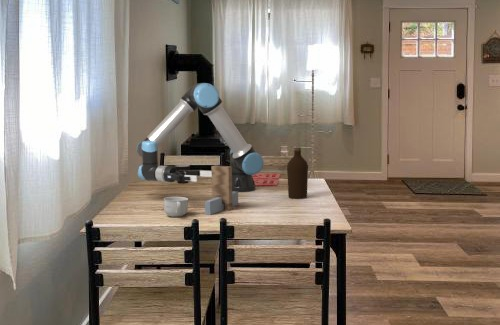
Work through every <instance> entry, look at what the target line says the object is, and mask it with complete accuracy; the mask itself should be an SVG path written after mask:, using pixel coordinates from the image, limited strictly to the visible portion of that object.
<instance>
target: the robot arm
mask: <svg viewBox="0 0 500 325" xmlns="http://www.w3.org/2000/svg"><path fill="white" fill-rule="evenodd" d="M197 109H199V111H200V112H201V113H202V115H204V116H207V118H209V120H210V122H212V125H214V127H215V128H216V130H217V131H218V133H219V134H220V136H221V137H222V139H223V140H224V142H225V143H226V145H227V146H228V148H229V149H230V151H229V163H230V164H229V165H230V167H232V192H233V191H235V192H238V193H239V192H241V193H242V192H253V191H256V186H255V183H254V180H253V177H252V175H255V174H257V173H261V171H262V170H263V167H264V158H263V157H262V155H261V154H260V153H258V152H257V151H256V150H255V148H254V147H253V145H252V144H250V143H248V142H247V141H246V140H245V138H244V137H243V135H242V134H241V132H240V131H239V130H238V128H237V127H236V125H235V124H234V122H233V121H232V119H231V117H230V116H229V115H228V112H227V111H226V110H225V109H224V107H223V100H222V99H221V97H220V94H219V91H218V89H217V87H216V86H214V85H212V84H211V83H208V82H207V83H206V82H200V83H194V84H193V85H191V86H190V87H189V88H188V90H187V91H185V93H184V94H183V95H182V96H181V98H179V102H178V103H177V105H176V106H175V107H174V108H173V109H172V110H171V111H170V112H169V113H168V114H167V115H166V116H165V117H164V119H162V120H161V122H160V123H158V125H157V126H156V127H155V128H154V129H153V130H152V131H151V132H149V134H148V135H147V136H146V137H145V138H144V139H143V141H141V142H138V144H137V146H136V153H137V154H138V155H139V157H141V161H142V164H141V165H139V167H138V171H137V175H138V178H139V179H140V180H142V181H149V182H150V181H153V182H161V183H162V184H163V183H164V182H167V183H174V182H177V181H179V182H180V181H182V183H183V182H184V180H185V181H189V182H198V177H199V176H200V177H207V178H212V170H203V169H202V168H199V169H190V170H178V171H177V169H176V168H175V166H172V165H171V166H170V165H169V166H168V165H159V158H158V154H159V153H158V148H159V147H160V145H161V144H162V143H163V142H165V140H166V139H167V138H168V137H169V136H170V135H171V134H172V133H173V132H174V131H175V129H177V128H178V127H179V125H180V124H181V123H183V121H184V120H185V119H186V118H187V117H188V116H189V115H190V114H191V113H194V112H195V111H196V110H197Z"/></svg>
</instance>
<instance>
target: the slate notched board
mask: <svg viewBox="0 0 500 325" xmlns="http://www.w3.org/2000/svg"><path fill="white" fill-rule="evenodd" d="M237 205H239V192H235V191H232V207H234V206H237ZM221 211H225V203H222V198H221V197H216V198H213V199H212V198H211V199H207V200H205V201H204V212H205V214H204V215H206V216H211V215H214V214H217V213H219V212H221Z"/></svg>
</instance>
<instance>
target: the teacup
mask: <svg viewBox="0 0 500 325" xmlns="http://www.w3.org/2000/svg"><path fill="white" fill-rule="evenodd" d="M188 206H189V198H187V197H185V196H184V197H183V196H166V197H163V208H164V209H163V211H164V213H165V214H166V215H167V216H168V217H171V218H172V217H175V218H177V217H178V218H180V217H183V216H184V215H185V214H187V213H188V210H189V208H188Z"/></svg>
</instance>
